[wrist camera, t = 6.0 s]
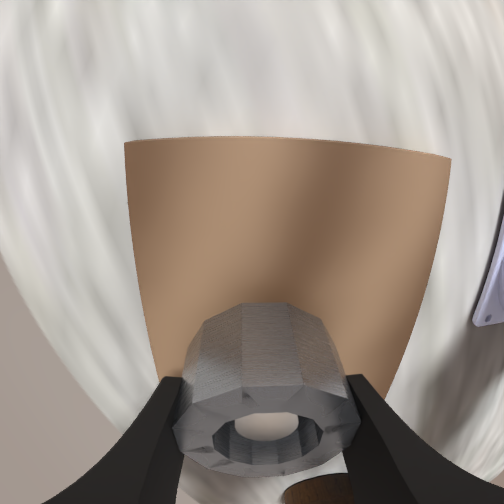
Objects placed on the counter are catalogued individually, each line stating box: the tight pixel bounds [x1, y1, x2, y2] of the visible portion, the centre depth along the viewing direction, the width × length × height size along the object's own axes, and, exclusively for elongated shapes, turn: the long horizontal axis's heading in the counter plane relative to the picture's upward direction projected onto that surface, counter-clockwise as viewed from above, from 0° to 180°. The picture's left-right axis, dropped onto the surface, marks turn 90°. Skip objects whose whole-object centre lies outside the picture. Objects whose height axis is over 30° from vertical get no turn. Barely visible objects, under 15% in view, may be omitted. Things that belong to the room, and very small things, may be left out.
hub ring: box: [172, 302, 361, 477], centre depth 9 cm, size 5×5×4 cm
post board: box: [124, 136, 452, 441], centre depth 10 cm, size 11×14×5 cm
